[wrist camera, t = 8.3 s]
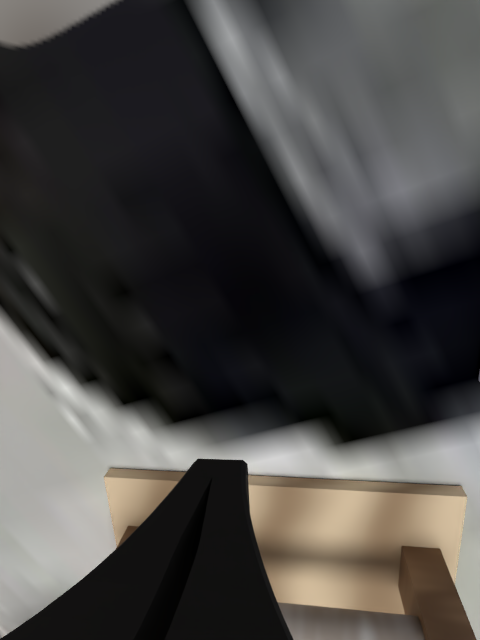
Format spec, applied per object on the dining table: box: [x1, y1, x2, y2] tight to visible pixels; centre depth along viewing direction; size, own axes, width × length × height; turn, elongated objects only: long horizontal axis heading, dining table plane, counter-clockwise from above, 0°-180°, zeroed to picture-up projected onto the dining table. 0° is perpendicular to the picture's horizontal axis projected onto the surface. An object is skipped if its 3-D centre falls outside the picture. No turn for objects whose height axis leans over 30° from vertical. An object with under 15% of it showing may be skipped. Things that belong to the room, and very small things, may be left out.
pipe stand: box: [104, 468, 476, 640], centre depth 21 cm, size 20×10×6 cm, turn 93°
